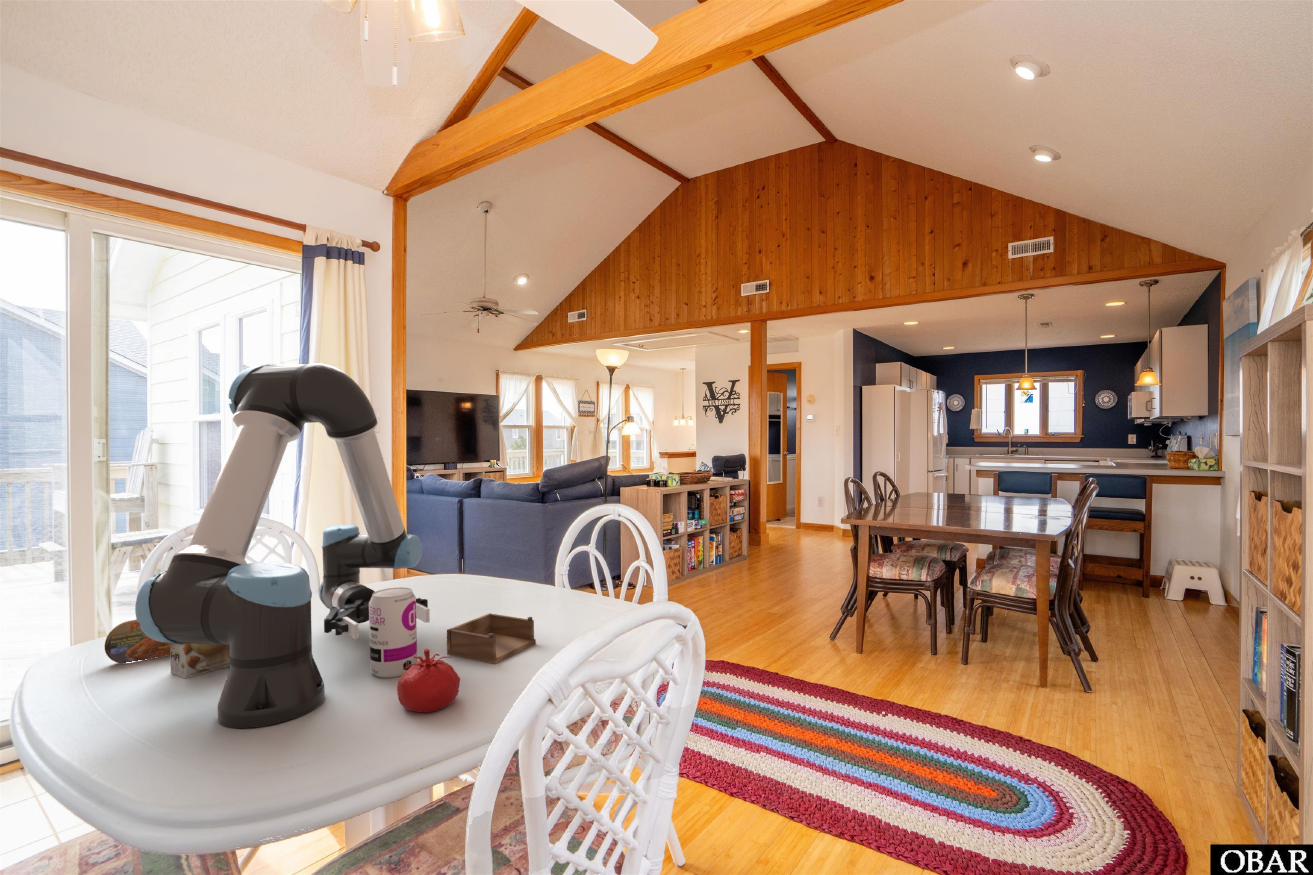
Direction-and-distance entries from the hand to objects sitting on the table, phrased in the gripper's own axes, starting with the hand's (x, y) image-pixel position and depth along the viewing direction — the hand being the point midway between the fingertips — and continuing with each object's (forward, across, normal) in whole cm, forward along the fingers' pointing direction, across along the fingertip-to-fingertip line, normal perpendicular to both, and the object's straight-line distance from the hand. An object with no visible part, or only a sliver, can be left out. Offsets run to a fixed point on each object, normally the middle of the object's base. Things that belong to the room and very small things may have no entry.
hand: (393, 623), depth 122 cm
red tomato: (+22, +2, -9) cm, 24 cm away
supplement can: (+2, +1, -9) cm, 9 cm away
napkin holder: (+5, -18, -8) cm, 21 cm away
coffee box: (-26, +27, -9) cm, 38 cm away
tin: (-42, +33, -9) cm, 54 cm away
